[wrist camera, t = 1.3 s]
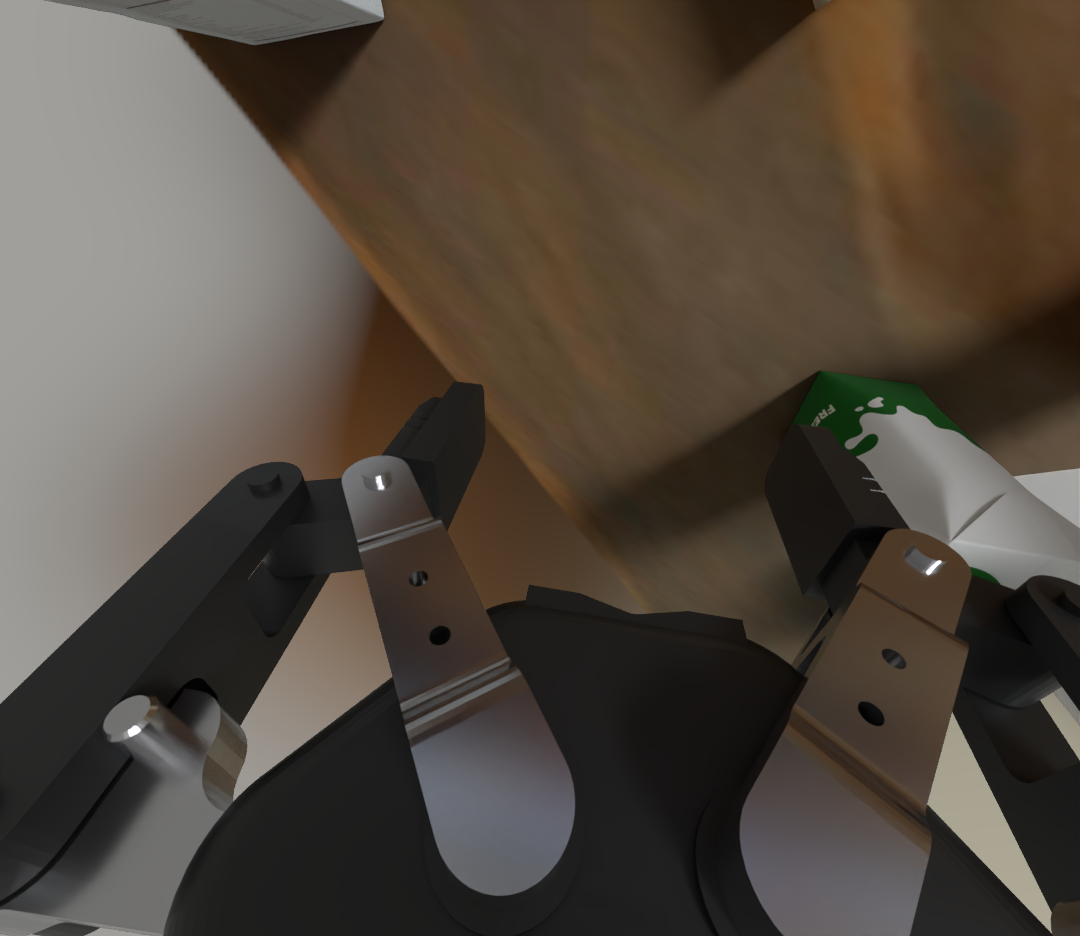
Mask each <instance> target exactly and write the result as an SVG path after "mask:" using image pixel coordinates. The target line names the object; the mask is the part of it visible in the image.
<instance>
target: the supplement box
mask: <svg viewBox="0 0 1080 936" xmlns="http://www.w3.org/2000/svg"><path fill="white" fill-rule="evenodd" d="M46 1H51V2H56V3H61V4H66V5H72V6H78V7H84V8H89V9H94V10H98V11H105V12H112V13H116V14H120V15H124V16H128V17H130V18H134V19H137V20H141V21H146V22H150V23H154V24H159V25H163V26H168V27H173V28H178V29H183V30H187V31H192V32H197V33H201V34H206V35H211V36H216V37H221V38H225V39H229V40H234V41H238V42H242V43H246V44H251V45H259V44H266V43H271V42H277V41H282V40H287V39H293V38H297V37H302V36H307V35H311V34H316V33H322V32H327V31H332V30H337V29H342V28H348V27H353V26H358V25H364V24H369V23H374V22H378V21H381V20H383V19H384V13H383V8H382V4H381V0H46Z"/></svg>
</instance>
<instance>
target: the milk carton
mask: <svg viewBox="0 0 1080 936" xmlns="http://www.w3.org/2000/svg"><path fill="white" fill-rule="evenodd" d="M794 424H801V425H810V426H818V427H826V428H829V429H830V430H831V432H832V433H833V435H834V436H835V438H836V439H837V441H838V442H839V444H840V445H841V447H842V448H843V449H844V450H848V451H849V452H850V453H851V454H853V455H854V456H855V457H857V458H858V459H859V460H860V461H862V462H863V463H864V464H865V465H866V466H867V468H868V469H869V471H870V472H871V474H872V475H873V476H874V478H875V479H874V481H877V482H878V484H879V485H880V486H881V488H882V489H883V493H885V494H886V495H887V496H888V498H889V499H890V501H891V502H892V504H893V505H894V506H895V508H896V509H897V511H898V512H899V514H900V515H901V516H902V518H903V519H904V521H905V522H906V524H907V525H908V526H909V528H910V529H911V530H914V531H918V532H922V533H924V534H927V535H929V536H932V537H934V538H936V539H938V540H940V541H942V542H943V543H945V544H947V545H948V546H950V547H951V548H952V549H954V550H955V551H956V552H957V553H958V554H960V555H961V556H962V558H963V559H964V560H965V561H966V562H967V564H968V565H969V567H970V569H971V573H972V575H974V576H977V577H980V578H983V579H986V580H989V581H991V582H994V583H997V584H1000V585H1003V586H1006V587H1009V588H1012V589H1015V590H1016V589H1017V588H1018V587H1020V586H1021V585H1022V584H1023V583H1024V582H1025V581H1027V580H1028V579H1029V578H1031V577H1033V576H1037V575H1047V576H1053V577H1058V578H1061V579H1064V580H1068V581H1070V582H1073V583H1075V584H1078V585H1080V528H1079V527H1077V526H1076V525H1074V524H1073V523H1072V522H1070V521H1069V520H1067V519H1066V518H1065V517H1063V516H1062V515H1060V514H1059V513H1058V512H1056V511H1055V510H1053V509H1052V508H1051V507H1049V506H1048V505H1046V504H1045V503H1044V502H1042V501H1041V500H1039V499H1038V498H1037V497H1036V496H1034V495H1033V494H1032V493H1031V492H1029V491H1028V490H1027V489H1026V488H1025V487H1024V486H1023V485H1022V484H1020V483H1019V482H1018V481H1017V480H1016V479H1015V478H1014V477H1013V476H1012V475H1011V474H1010V473H1009V472H1007V471H1006V470H1005V469H1004V468H1003V467H1002V466H1001V465H1000V464H999V463H998V462H996V461H995V460H994V459H993V458H992V457H991V456H990V455H989V454H988V453H987V452H985V451H984V450H983V449H982V448H981V447H980V446H979V445H978V444H977V443H976V442H974V441H973V440H972V439H971V438H970V437H969V436H968V435H967V434H966V433H965V432H964V431H962V430H961V429H960V428H959V427H958V426H957V425H956V424H955V423H954V422H953V421H951V420H950V419H949V418H948V417H947V416H946V415H945V414H944V413H943V412H941V411H940V410H939V409H938V408H937V407H936V405H935V404H934V403H933V402H932V401H931V400H930V399H929V397H928V396H927V395H926V394H925V393H924V392H923V391H922V389H921V388H920V387H919V386H918V385H915V384H908V383H901V382H894V381H887V380H880V379H873V378H867V377H860V376H853V375H846V374H839V373H832V372H826V371H820V372H819V374H818V376H817V378H816V379H815V381H814V383H813V385H812V387H811V389H810V391H809V393H808V395H807V396H806V398H805V400H804V402H803V404H802V406H801V408H800V410H799V412H798V413H797V415H796V417H795V419H794V421H793V423H792V425H794ZM792 425H791V426H792Z"/></svg>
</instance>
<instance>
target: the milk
mask: <svg viewBox="0 0 1080 936" xmlns="http://www.w3.org/2000/svg"><path fill="white" fill-rule="evenodd" d="M1014 478H1015V479H1016V480H1017V481H1018V482H1019V483H1020V484H1022V485H1023V486H1024V487H1025V488H1026V489H1027V490H1028V491H1029V492H1031V493H1032V494H1033V495H1034V496H1036V497H1037V498H1038V499H1039V500H1041V501H1042V502H1044V503H1045V504H1046V505H1048V506H1049V507H1051V508H1052V509H1053V510H1055V511H1056V512H1058V513H1059V514H1060V515H1062V516H1063V517H1065V518H1066V519H1067V520H1069V521H1070V522H1072V523H1073V524H1074V525H1076V526H1077V527H1079V528H1080V469H1071V470H1063V471H1055V472H1047V473H1039V474H1030V475H1022V476H1014ZM1053 693H1054V694H1055V696H1056V697H1057V698H1058V699H1059V701H1060V702H1061V703H1062V704H1063V706H1064V707H1065V708H1066V709H1067V710H1068V712H1069V713H1070V714H1071V715H1072V717H1073V718H1074V719H1075V720H1076V722H1077V723H1078V724H1079V725H1080V711H1079V710H1078V709H1077V707H1076V706H1075V704H1074V703H1073V702H1072V700H1071V699H1070V697H1069V696H1068V695H1067V693H1066V692H1065V690H1064V689H1063V688H1062V687H1061V688H1059V689H1058V690H1056V691H1054V692H1053Z"/></svg>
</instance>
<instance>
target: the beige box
mask: <svg viewBox="0 0 1080 936" xmlns="http://www.w3.org/2000/svg"><path fill="white" fill-rule="evenodd" d="M829 1H831V0H813V3H814V6H815V9H816V10H817V9H819V8H820V7H822V6H823V5H825V4H826V3H828V2H829Z"/></svg>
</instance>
